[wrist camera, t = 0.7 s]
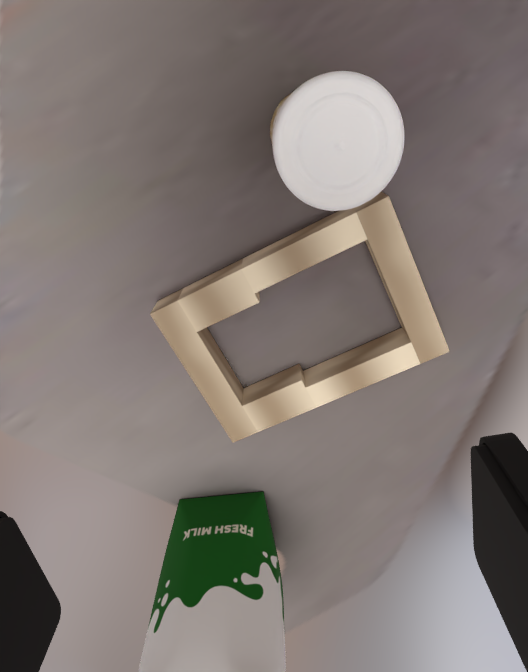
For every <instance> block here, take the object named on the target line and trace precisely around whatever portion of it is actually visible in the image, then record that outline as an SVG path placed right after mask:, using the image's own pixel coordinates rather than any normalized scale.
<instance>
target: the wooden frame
mask: <svg viewBox="0 0 528 672" xmlns="http://www.w3.org/2000/svg"><path fill="white" fill-rule="evenodd" d="M363 241H365V242H366V245H367V247H368V249H369V252H370V254H371V256H372V259H373V261H374V263H375V266H376V268H377V270H378V273H379V275H380V277H381V280H382V282H383V284H384V287H385V289H386V291H387V294H388V296H389V298H390V301H391V303H392V305H393V308H394V310H395V313H396V315H397V317H398V320H399V322H400V324H401V327H402V328H400V329H398V330H395V331H393V332H391V333H388V334H386V335H384V336H382V337H379V338H377V339H375V340H372V341H370V342H368V343H366V344H363V345H361V346H359V347H356V348H354V349H352V350H350V351H347V352H345V353H343V354H340V355H338V356H336V357H334V358H331V359H329V360H327V361H325V362H322V363H320V364H318V365H315V366H313V367H311V368H309V369H306V370H304V371H303V370H302V368H301V366H300V364H297V365H295V366H293V367H291V368H288V369H286V370H284V371H282V372H279V373H277V374H275V375H273V376H270V377H268V378H266V379H264V380H261V381H259V382H257V383H254V384H252V385H250V386H248V387H245V388H243V387H242V385H241V383H240V382H239V380H238V378H237V377H236V375H235V373H234V372H233V370H232V368H231V367H230V365H229V363H228V362H227V360H226V358H225V357H224V355H223V353H222V352H221V350H220V348H219V347H218V345H217V343H216V342H215V340H214V339H213V337H212V335H211V334H210V332H209V330H208V329H207V327H209V326H211V325H213V324H215V323H217V322H219V321H221V320H223V319H225V318H228V317H230V316H232V315H234V314H236V313H238V312H240V311H242V310H244V309H247V308H249V307H251V306H253V305H255V304H257V303H259V298H260V291H261V290H263V289H265V288H267V287H269V286H271V285H273V284H276V283H278V282H280V281H282V280H284V279H286V278H288V277H290V276H292V275H294V274H296V273H298V272H300V271H303V270H305V269H307V268H309V267H311V266H313V265H315V264H317V263H319V262H321V261H323V260H325V259H328V258H330V257H332V256H334V255H336V254H338V253H340V252H342V251H344V250H346V249H348V248H350V247H353V246H355V245H357V244H359V243H361V242H363ZM150 315H151V316H152V318H153V319H154V321H155V323H156V324H157V326H158V327H159V329H160V330H161V332H162V333H163V335H164V336H165V338H166V340H167V341H168V343H169V344H170V346H171V347H172V349H173V350H174V352H175V354H176V355H177V357H178V358H179V360H180V361H181V363H182V364H183V366H184V367H185V369H186V371H187V372H188V374H189V375H190V377H191V378H192V380H193V381H194V383H195V385H196V386H197V388H198V389H199V391H200V392H201V394H202V395H203V397H204V398H205V400H206V402H207V403H208V405H209V406H210V408H211V409H212V411H213V412H214V414H215V416H216V417H217V419H218V420H219V422H220V423H221V425H222V426H223V428H224V429H225V431H226V433H227V434H228V436H229V437H230V439H231V440H232V442H236V441H238V440H240V439H243V438H245V437H248V436H250V435H252V434H255V433H257V432H259V431H262V430H264V429H267V428H269V427H271V426H274V425H276V424H279V423H281V422H283V421H286V420H288V419H290V418H293V417H295V416H298V415H300V414H302V413H305V412H307V411H309V410H312V409H314V408H317V407H319V406H321V405H324V404H326V403H328V402H331V401H333V400H336V399H338V398H340V397H343V396H345V395H347V394H350V393H352V392H355V391H357V390H359V389H362V388H364V387H366V386H369V385H371V384H374V383H376V382H378V381H381V380H383V379H385V378H388V377H390V376H393V375H395V374H397V373H400V372H402V371H404V370H407V369H409V368H412V367H414V366H416V365H419V364H421V363H423V362H426V361H428V360H431V359H433V358H435V357H438V356H440V355H442V354H445V353H447V352H450V351H449V348H448V346H447V343H446V341H445V338H444V336H443V333H442V331H441V328H440V326H439V323H438V320H437V318H436V315H435V313H434V310H433V308H432V305H431V303H430V300H429V298H428V295H427V292H426V290H425V287H424V285H423V282H422V280H421V277H420V275H419V272H418V269H417V267H416V264H415V262H414V259H413V257H412V254H411V252H410V249H409V247H408V244H407V241H406V239H405V236H404V234H403V231H402V229H401V226H400V224H399V221H398V219H397V216H396V213H395V211H394V208H393V206H392V203H391V201H390V198H389V196H388V195H386V194H385V193H383V192H382V191H381V192H380V193H379V194H378V195H377V196H375V197H374V198H373V199H371V200H370V201H368V202H366V203H364V204H362V205H360V206H358V207H355V208H352V209H348V210H341V211H337V212H335V213H333V214H331V215H329V216H327V217H325V218H323V219H321V220H319V221H317V222H315V223H313V224H311V225H309V226H307V227H305V228H303V229H301V230H299V231H297V232H295V233H293V234H291V235H289V236H287V237H285V238H283V239H281V240H279V241H277V242H275V243H273V244H271V245H269V246H267V247H265V248H263V249H261V250H259V251H257V252H255V253H253V254H251V255H249V256H247V257H245V258H243V259H241V260H239V261H237V262H235V263H233V264H231V265H229V266H227V267H225V268H223V269H221V270H219V271H217V272H215V273H213V274H211V275H209V276H207V277H205V278H203V279H201V280H199V281H197V282H195V283H193V284H191V285H189V286H187V287H185V288H183V289H181V290H179V291H177V292H175V293H173V294H171V295H169V296H167V297H165V298H163V299H161V300H159V301H157V303H156V305H155V307H154V308H153V310H152V312H151V313H150Z"/></svg>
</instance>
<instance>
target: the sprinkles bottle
mask: <svg viewBox="0 0 528 672" xmlns="http://www.w3.org/2000/svg"><path fill="white" fill-rule="evenodd" d="M270 137H271V142H272V145H273V155H274V160H275V164H276V167H277V170H278V172H279V174H280V176H281V178H282V180H283V182H284V183H285V185H286V186H287V187H288V189H289V190H290V191H291V192H292V193H293V194H294V195H295V196H296V197H297V198H298V199H300V200H301V201H303V202H304V203H306V204H308V205H310V206H312V207H315V208H318V209H322V210H328V211H341V210H348V209H352V208H355V207H358V206H360V205H362V204H364V203H366V202H368V201H370V200H371V199H373V198H374V197H375V196H377V195H378V194H379V193H380V192H381V191H382V190H383V189H384V188H385V187H386V186H387V184H388V183H389V182H390V180H391V179H392V177H393V176H394V174H395V173H396V171H397V168H398V166H399V164H400V161H401V157H402V153H403V149H404V125H403V120H402V116H401V113H400V110H399V108H398V106H397V104H396V102H395V101H394V99H393V97H392V96H391V94H390V93H389V92H388V91H387V90H386V89H385V88H384V87H383V86H382V85H381V84H380V83H378V82H377V81H375V80H374V79H372V78H371V77H368V76H366V75H363V74H361V73H356V72H350V71H333V72H329V73H324V74H321V75H318V76H316V77H314V78H312V79H310V80H308V81H306V82H304V83H303V84H302V85H300V86H299V87H298V88H297V89H295V90H294V92H293V93H291V94H289V95H288V96H287V97H285V98H284V99H283V100H282V101H281V102H280V103H279V105H278V107H277V108H276V110H275V112H274V114H273V117H272V120H271V124H270Z"/></svg>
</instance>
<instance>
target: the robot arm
mask: <svg viewBox="0 0 528 672" xmlns="http://www.w3.org/2000/svg"><path fill="white" fill-rule="evenodd" d="M471 476H472V508H473V540H474V551H475V555H476V559H477V562H478V565H479V567H480V570H481V572H482V574H483V576H484V578H485V580H486V583H487V585H488V587H489V589H490V592H491V594H492V596H493V598H494V600H495V603H496V605H497V607H498V609H499V611H500V614H501V615H502V618H503V620H504V622H505V624H506V627H507V629H508V631H509V633H510V635H511V638H512V640H513V642H514V644H515V646H516V649H517V651H518V653H519V655H520V657H521V660H522V662H523V664H524V666H525V668H526V670H527V672H528V451H527V449H526V448H525V447H524V445H523V444H522V443H521V441H520V440H519V439H518V437H517V436H516V435H515V434H513V433H505V434H499V435H492V436H486V437H482V438H480V443H479V446H473V447H472V448H471ZM60 614H61V607H60V603H59V600H58V598H57V597H56V595H55V593H54V591H53V589H52V587H51V586H50V584H49V582H48V580H47V578H46V576H45V575H44V573H43V571H42V569H41V567H40V566H39V564H38V562H37V560H36V558H35V557H34V555H33V553H32V551H31V549H30V547H29V546H28V544H27V542H26V540H25V538H24V536H23V535H22V533H21V531H20V529H19V527H18V525H17V524H16V522H15V521H14V519H13V518H11V517H8V516H7V515H6V514H5V513H4V512H2V511H0V672H39V670H40V667H41V664H42V662H43V660H44V657H45V655H46V652H47V650H48V647H49V645H50V642H51V640H52V638H53V635H54V632H55V630H56V628H57V625H58V623H59V620H60Z"/></svg>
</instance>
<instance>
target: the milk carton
mask: <svg viewBox="0 0 528 672" xmlns="http://www.w3.org/2000/svg"><path fill="white" fill-rule="evenodd" d="M285 663H286V662H285V633H284V606H283V589H282V580H281V573H280V567H279V561H278V556H277V551H276V546H275V542H274V537H273V533H272V528H271V524H270V519H269V515H268V510H267V506H266V501H265V497H264V492H253V493H243V494H232V495H222V496H212V497H201V498H191V499H180V500H179V503H178V507H177V511H176V515H175V519H174V523H173V527H172V530H171V534H170V538H169V541H168V545H167V549H166V553H165V557H164V561H163V566H162V570H161V574H160V578H159V583H158V587H157V592H156V596H155V600H154V605H153V609H152V614H151V618H150V622H149V627H148V631H147V635H146V640H145V645H144V649H143V653H142V658H141V662H140V666H139V671H138V672H286V664H285Z"/></svg>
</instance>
